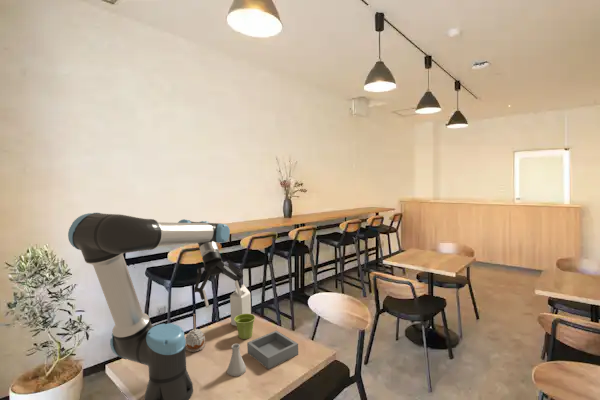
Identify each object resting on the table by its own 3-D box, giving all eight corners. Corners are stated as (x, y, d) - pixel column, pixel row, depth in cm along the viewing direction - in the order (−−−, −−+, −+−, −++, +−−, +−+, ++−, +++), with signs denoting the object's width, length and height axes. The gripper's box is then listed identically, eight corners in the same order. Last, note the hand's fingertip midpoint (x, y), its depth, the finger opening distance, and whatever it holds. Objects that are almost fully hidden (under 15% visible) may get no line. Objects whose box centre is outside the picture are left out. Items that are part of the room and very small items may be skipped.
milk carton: (231, 324, 159) (229, 287, 157) (240, 318, 165) (238, 282, 163) (242, 328, 155) (241, 289, 154) (251, 321, 162) (250, 285, 160)
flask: (242, 378, 118) (241, 352, 117) (223, 375, 120) (222, 350, 119) (249, 366, 125) (248, 341, 124) (231, 364, 127) (230, 339, 126)
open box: (268, 369, 123) (268, 358, 123) (247, 352, 134) (247, 342, 134) (298, 354, 133) (298, 343, 132) (276, 340, 144) (276, 330, 144)
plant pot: (233, 332, 151) (233, 315, 150) (253, 329, 154) (253, 312, 153) (236, 343, 142) (235, 324, 141) (257, 339, 145) (256, 320, 144)
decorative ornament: (209, 345, 140) (207, 312, 139) (195, 354, 134) (193, 320, 132) (196, 341, 144) (194, 309, 143) (182, 349, 137) (180, 316, 136)
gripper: (237, 251, 148) (251, 295, 139) (180, 265, 136) (192, 313, 127) (239, 244, 142) (255, 288, 133) (180, 257, 131) (193, 308, 121)
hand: (224, 301), depth 130 cm, fingers open, 13 cm apart
